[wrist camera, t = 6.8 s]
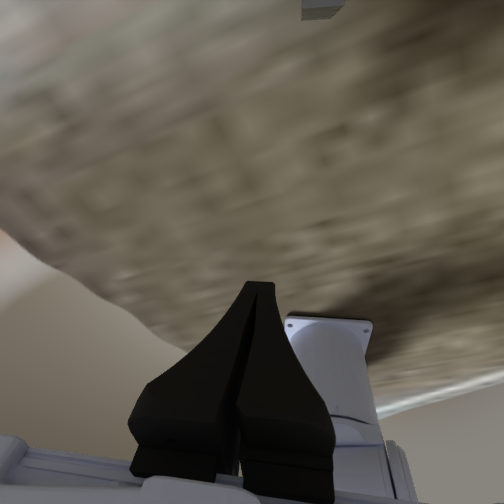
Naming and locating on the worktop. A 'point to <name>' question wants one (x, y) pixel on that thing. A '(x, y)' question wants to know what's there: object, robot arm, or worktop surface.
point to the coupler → (320, 9)
